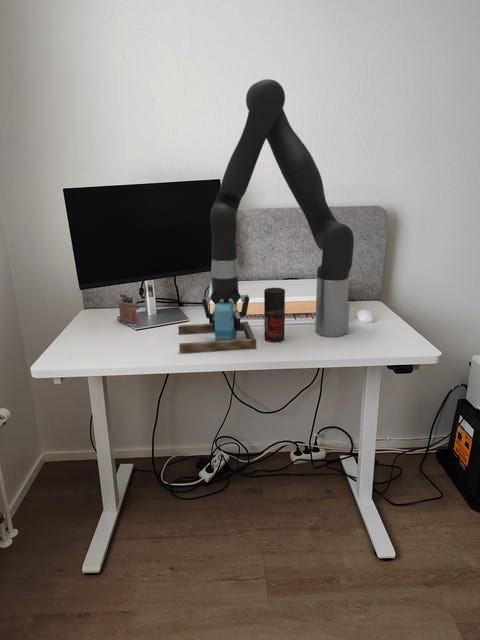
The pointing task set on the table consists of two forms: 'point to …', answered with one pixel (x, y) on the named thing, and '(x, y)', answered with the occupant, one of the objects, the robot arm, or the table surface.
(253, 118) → the robot arm
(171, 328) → the table surface
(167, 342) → the table surface
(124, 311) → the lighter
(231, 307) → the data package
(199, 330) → the walnut u-shaped frame
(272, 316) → the deodorant
